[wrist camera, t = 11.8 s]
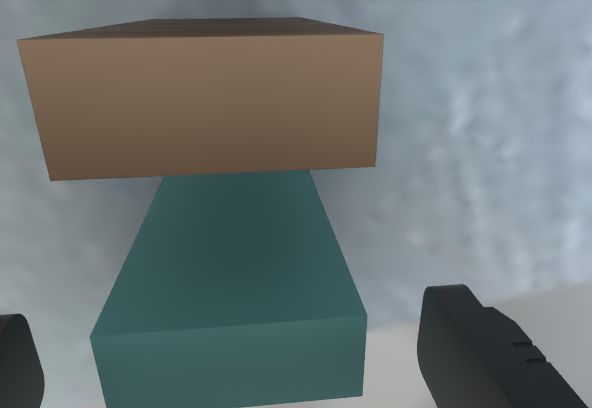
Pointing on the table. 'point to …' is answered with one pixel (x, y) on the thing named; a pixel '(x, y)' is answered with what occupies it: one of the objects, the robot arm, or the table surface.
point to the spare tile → (232, 300)
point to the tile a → (204, 97)
